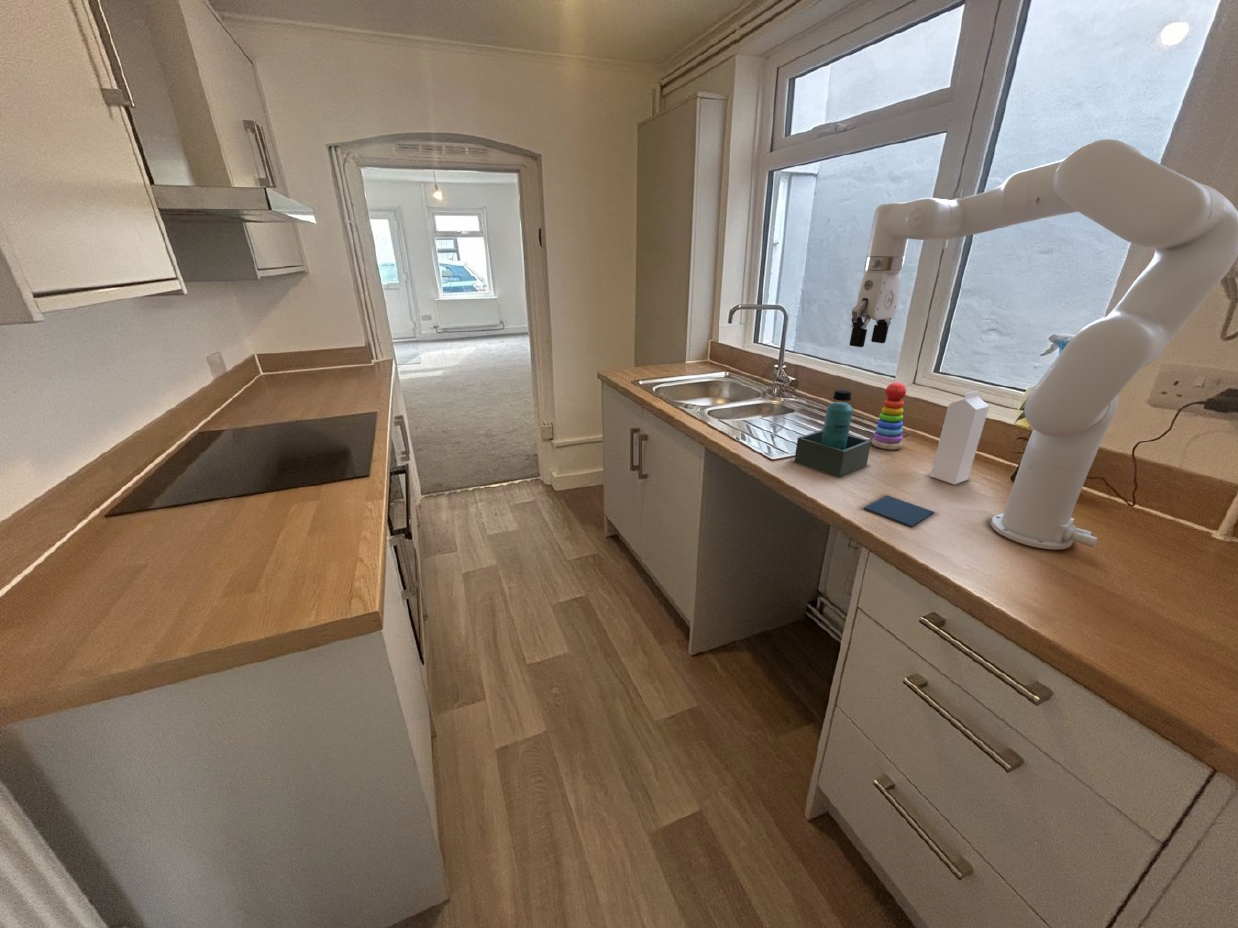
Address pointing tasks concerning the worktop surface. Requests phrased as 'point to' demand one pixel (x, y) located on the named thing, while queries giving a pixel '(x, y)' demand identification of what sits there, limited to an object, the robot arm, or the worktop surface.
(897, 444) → the stacking toy
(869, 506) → the mat
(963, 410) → the milk
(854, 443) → the basket
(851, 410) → the beverage bottle
